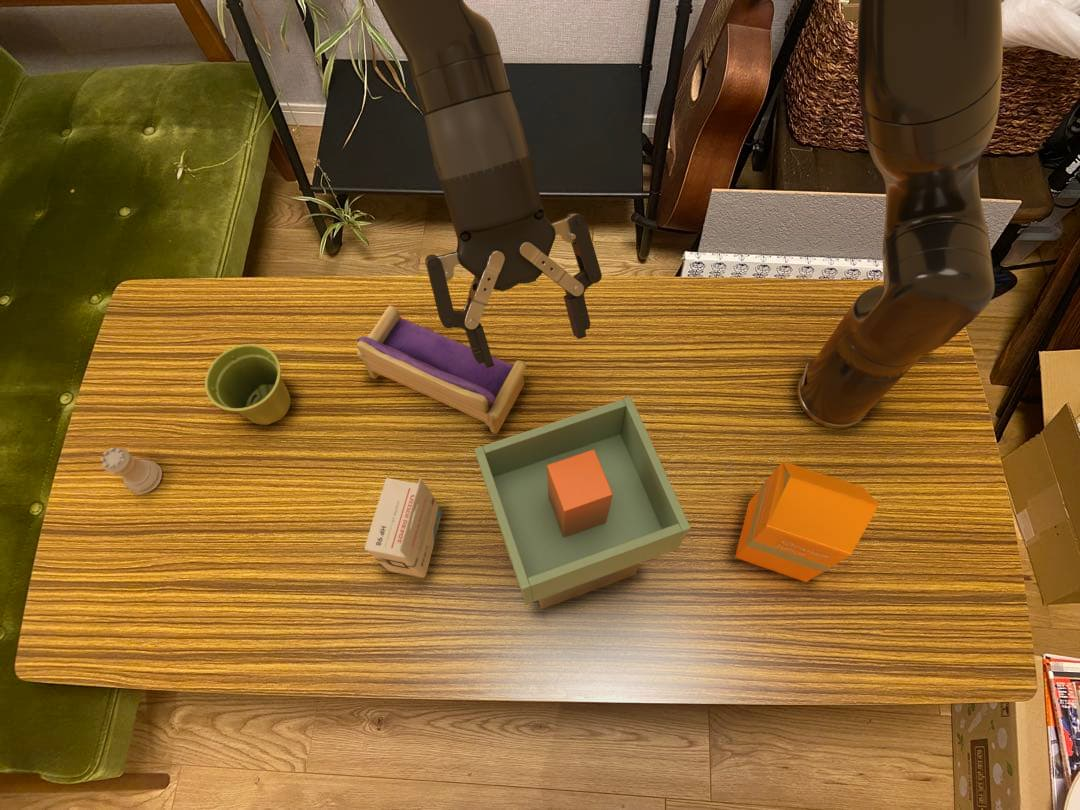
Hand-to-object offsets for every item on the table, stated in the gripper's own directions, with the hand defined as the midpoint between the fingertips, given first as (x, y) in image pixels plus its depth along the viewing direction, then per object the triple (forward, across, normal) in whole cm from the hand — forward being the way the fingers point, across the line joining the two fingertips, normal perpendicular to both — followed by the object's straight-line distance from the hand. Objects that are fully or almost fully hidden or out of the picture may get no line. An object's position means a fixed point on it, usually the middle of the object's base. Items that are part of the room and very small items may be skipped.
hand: (535, 350), depth 62 cm
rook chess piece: (+11, -49, +34) cm, 61 cm away
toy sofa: (+11, -8, +34) cm, 37 cm away
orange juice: (+36, +24, +9) cm, 44 cm away
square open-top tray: (+18, 0, +2) cm, 18 cm away
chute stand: (+30, 0, +14) cm, 34 cm away
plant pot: (+7, -32, +38) cm, 50 cm away
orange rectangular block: (+17, 0, +1) cm, 17 cm away
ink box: (+25, -18, +20) cm, 37 cm away
